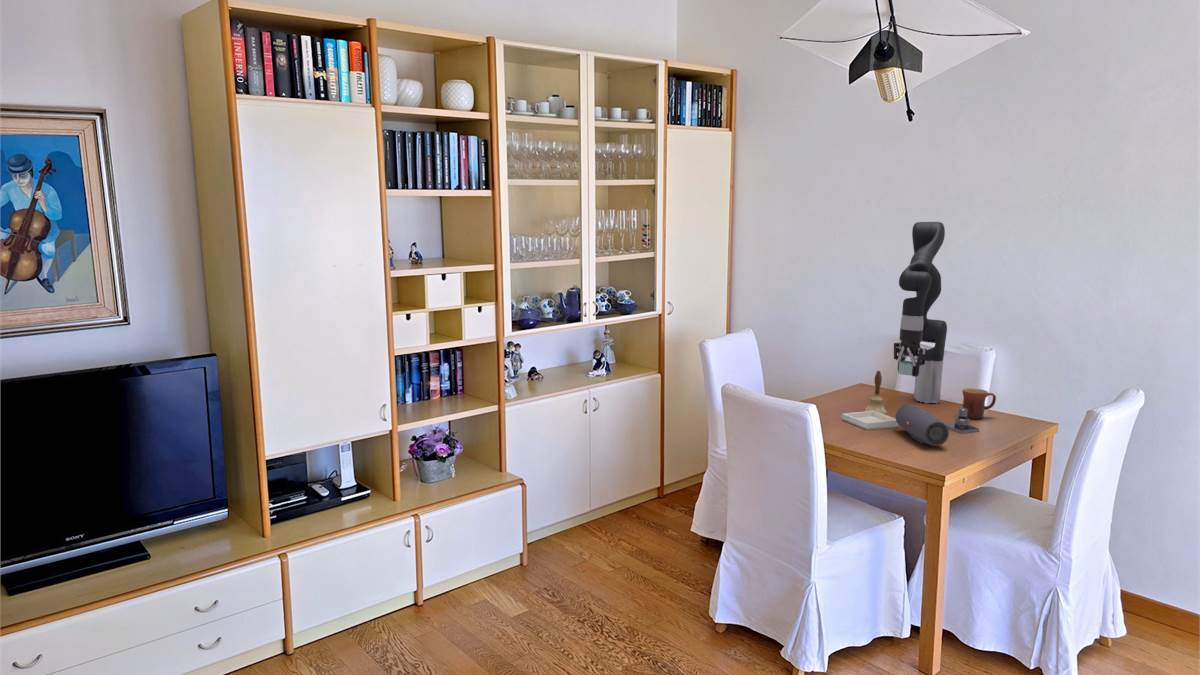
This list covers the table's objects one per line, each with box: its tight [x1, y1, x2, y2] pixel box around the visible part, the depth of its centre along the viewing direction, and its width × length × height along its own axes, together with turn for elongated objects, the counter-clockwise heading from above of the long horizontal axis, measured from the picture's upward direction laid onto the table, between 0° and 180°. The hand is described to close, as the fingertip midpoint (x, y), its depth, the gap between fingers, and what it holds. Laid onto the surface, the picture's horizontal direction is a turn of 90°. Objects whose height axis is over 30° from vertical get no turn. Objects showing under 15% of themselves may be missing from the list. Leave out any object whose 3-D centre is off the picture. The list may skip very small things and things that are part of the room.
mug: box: [962, 387, 997, 420], centre depth 310 cm, size 12×9×10 cm
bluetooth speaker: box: [894, 403, 950, 447], centre depth 281 cm, size 23×9×10 cm, turn 4°
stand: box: [945, 407, 980, 434], centre depth 294 cm, size 8×8×8 cm
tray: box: [841, 410, 900, 431], centre depth 301 cm, size 14×14×2 cm
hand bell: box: [864, 370, 888, 415], centre depth 316 cm, size 8×8×16 cm
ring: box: [897, 360, 913, 377], centre depth 295 cm, size 6×7×4 cm
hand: (907, 374), depth 295 cm, fingers closed on ring, 6 cm apart
